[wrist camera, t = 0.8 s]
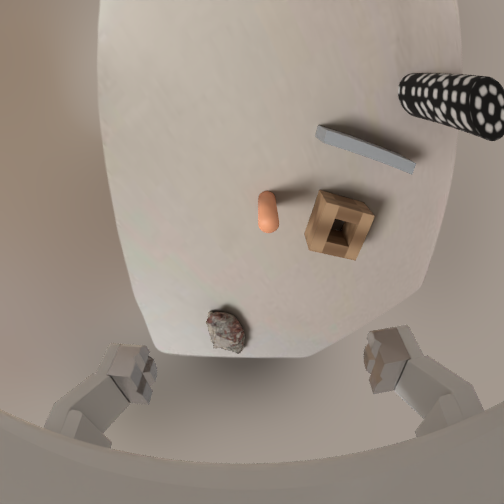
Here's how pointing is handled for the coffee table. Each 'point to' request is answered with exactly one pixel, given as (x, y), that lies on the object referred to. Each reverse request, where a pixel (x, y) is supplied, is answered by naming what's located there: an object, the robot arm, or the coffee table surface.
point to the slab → (364, 148)
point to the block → (351, 232)
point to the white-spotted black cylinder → (456, 102)
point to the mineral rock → (225, 331)
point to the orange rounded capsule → (267, 212)
